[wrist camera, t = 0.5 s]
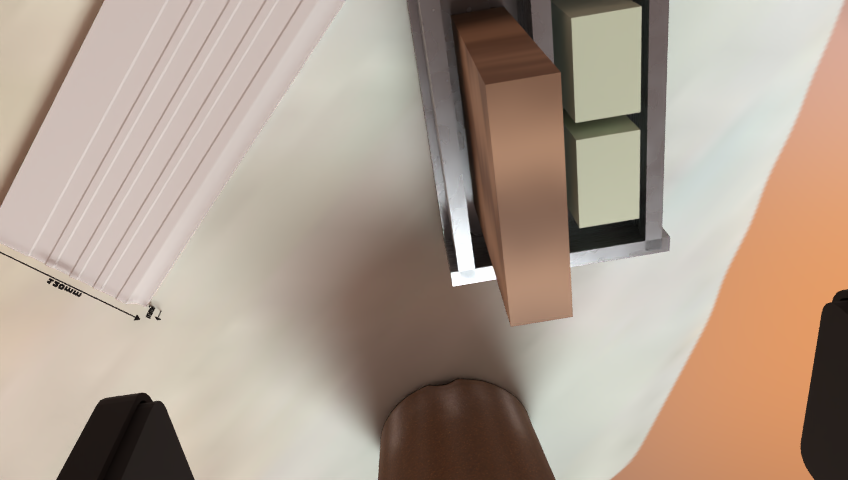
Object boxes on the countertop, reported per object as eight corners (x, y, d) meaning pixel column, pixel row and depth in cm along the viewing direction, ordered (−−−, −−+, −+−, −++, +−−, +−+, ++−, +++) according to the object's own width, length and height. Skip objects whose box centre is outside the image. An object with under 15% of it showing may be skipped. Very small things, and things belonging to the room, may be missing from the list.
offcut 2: (554, 109, 41) (576, 140, 37) (611, 100, 41) (640, 129, 37) (558, 191, 44) (579, 228, 40) (612, 182, 44) (639, 218, 40)
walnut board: (450, 15, 38) (485, 84, 27) (503, 6, 38) (560, 72, 27) (474, 205, 44) (510, 326, 33) (520, 197, 44) (572, 316, 33)
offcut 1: (548, -1, 38) (571, 18, 34) (610, -12, 38) (641, 6, 34) (553, 94, 41) (575, 123, 37) (611, 84, 41) (640, 112, 36)
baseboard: (430, -79, 37) (232, -240, 33) (434, -74, 35) (220, -248, 31) (169, 310, 48) (-4, 225, 44) (157, 335, 46) (-27, 248, 42)
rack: (400, -43, 37) (404, -28, 33) (645, -84, 37) (681, -75, 33) (444, 245, 47) (452, 286, 42) (641, 213, 47) (669, 250, 42)
